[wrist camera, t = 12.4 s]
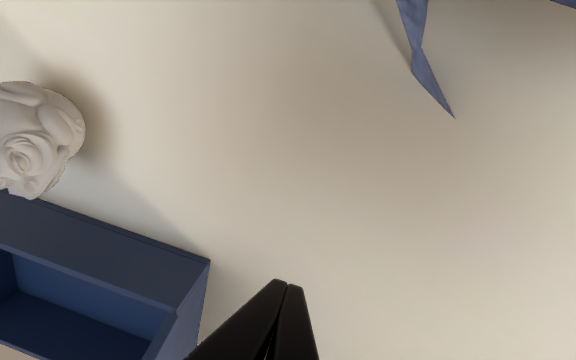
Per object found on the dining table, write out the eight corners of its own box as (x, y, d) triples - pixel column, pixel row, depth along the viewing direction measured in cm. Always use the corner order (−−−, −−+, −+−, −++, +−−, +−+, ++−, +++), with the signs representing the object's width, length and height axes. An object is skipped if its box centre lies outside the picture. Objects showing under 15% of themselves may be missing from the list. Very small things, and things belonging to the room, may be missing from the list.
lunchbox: (20, 288, 33) (-36, 329, 28) (0, 185, 27) (-74, 215, 23) (194, 355, 31) (165, 411, 26) (210, 259, 25) (177, 308, 21)
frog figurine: (78, 178, 25) (-17, 226, 19) (16, 96, 23) (-114, 118, 17) (131, 148, 23) (43, 191, 16) (68, 54, 21) (-60, 62, 15)
